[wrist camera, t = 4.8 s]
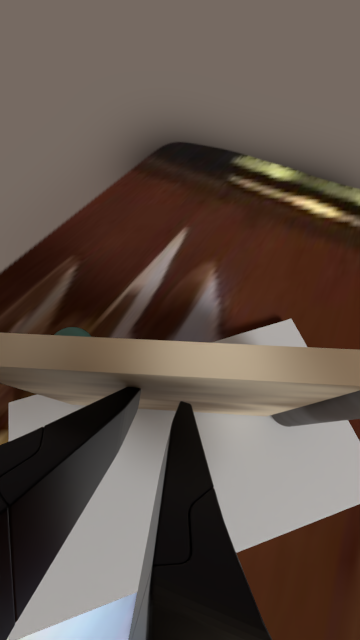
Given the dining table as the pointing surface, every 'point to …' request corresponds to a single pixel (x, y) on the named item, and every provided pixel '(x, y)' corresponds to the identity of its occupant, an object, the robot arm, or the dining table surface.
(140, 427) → the board
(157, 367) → the door
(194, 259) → the dining table surface
